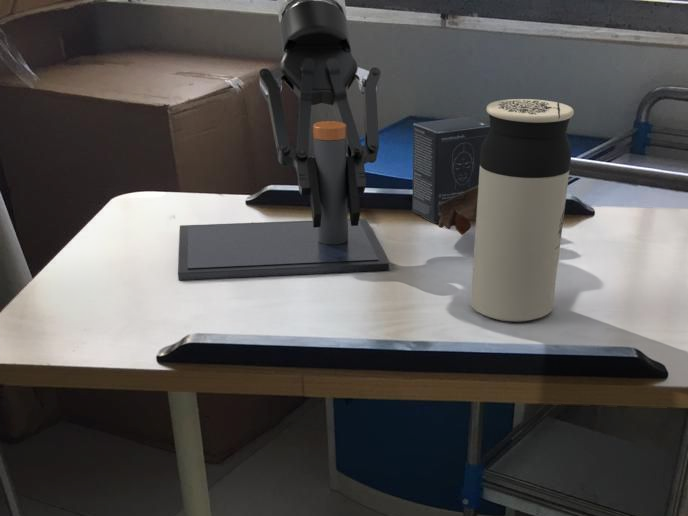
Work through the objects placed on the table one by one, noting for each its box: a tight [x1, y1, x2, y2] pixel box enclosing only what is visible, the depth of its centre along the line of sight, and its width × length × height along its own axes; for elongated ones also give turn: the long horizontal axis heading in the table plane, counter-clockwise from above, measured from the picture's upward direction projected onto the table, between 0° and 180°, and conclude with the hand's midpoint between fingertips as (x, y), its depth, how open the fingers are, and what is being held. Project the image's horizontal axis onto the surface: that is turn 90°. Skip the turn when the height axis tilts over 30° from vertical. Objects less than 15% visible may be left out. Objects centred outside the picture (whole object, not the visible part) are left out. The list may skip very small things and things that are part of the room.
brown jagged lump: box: [437, 185, 479, 236], centre depth 101 cm, size 12×10×8 cm
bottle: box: [312, 120, 349, 245], centre depth 96 cm, size 4×4×12 cm
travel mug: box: [470, 98, 575, 323], centre depth 81 cm, size 8×8×18 cm
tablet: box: [177, 217, 390, 281], centre depth 99 cm, size 22×16×1 cm
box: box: [411, 116, 490, 224], centre depth 108 cm, size 8×6×11 cm
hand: (336, 219), depth 95 cm, fingers closed on bottle, 3 cm apart
